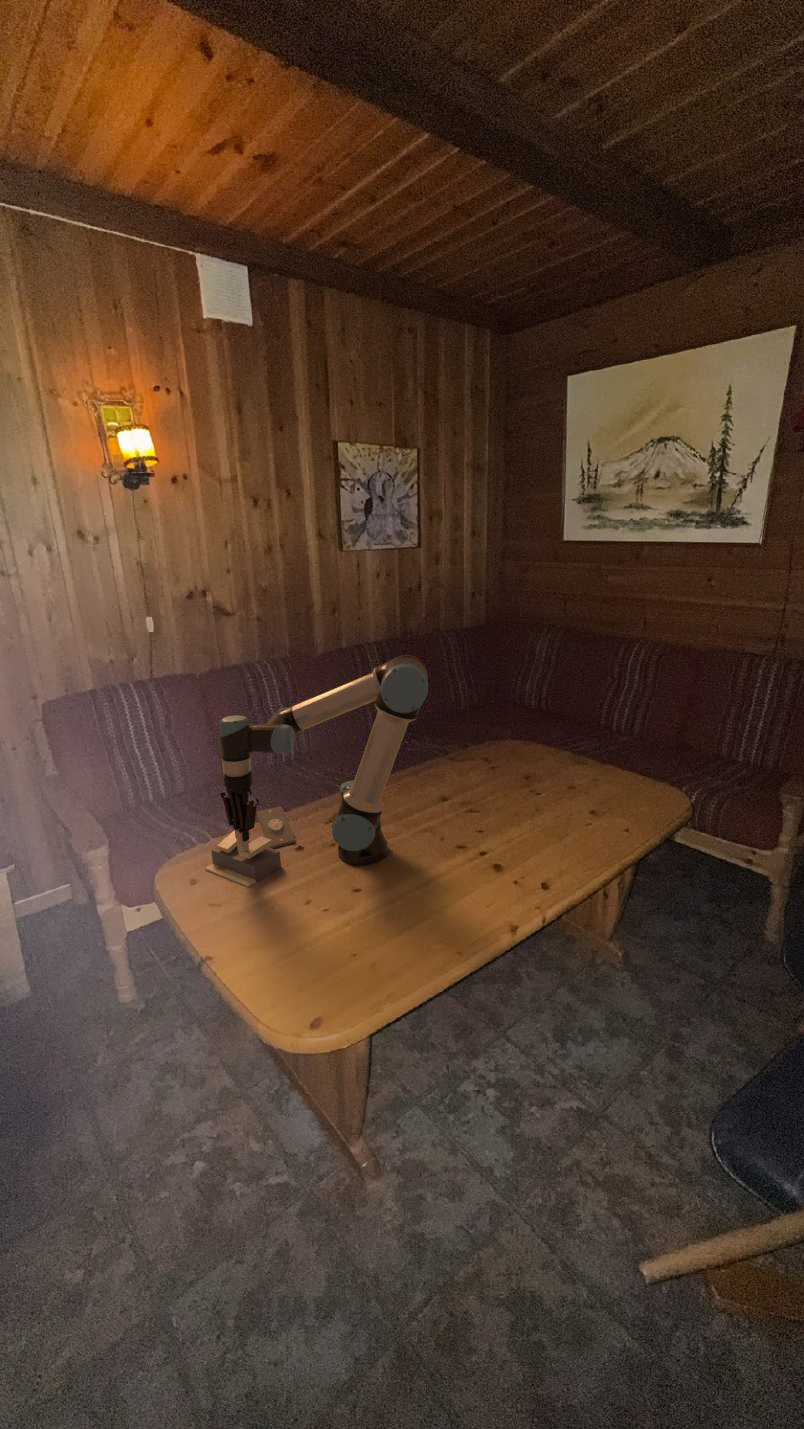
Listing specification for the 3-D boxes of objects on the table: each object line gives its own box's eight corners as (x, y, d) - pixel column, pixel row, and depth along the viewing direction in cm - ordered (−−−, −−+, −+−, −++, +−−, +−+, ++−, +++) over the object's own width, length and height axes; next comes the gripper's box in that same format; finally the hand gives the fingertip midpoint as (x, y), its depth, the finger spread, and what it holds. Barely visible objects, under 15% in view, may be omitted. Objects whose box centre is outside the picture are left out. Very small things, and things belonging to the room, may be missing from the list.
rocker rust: (250, 834, 187) (248, 829, 187) (229, 853, 181) (227, 849, 180) (240, 830, 190) (238, 826, 189) (218, 849, 184) (217, 845, 183)
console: (281, 866, 184) (279, 847, 182) (248, 887, 174) (246, 867, 172) (238, 851, 194) (236, 832, 192) (205, 869, 183) (202, 850, 181)
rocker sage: (272, 844, 183) (271, 839, 182) (249, 858, 176) (248, 853, 175) (261, 841, 185) (261, 836, 185) (238, 854, 178) (238, 849, 178)
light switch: (269, 845, 193) (256, 809, 202) (268, 856, 197) (255, 821, 206) (296, 838, 197) (281, 804, 206) (294, 849, 201) (280, 815, 210)
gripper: (264, 772, 170) (269, 850, 176) (231, 763, 177) (237, 839, 183) (244, 781, 164) (250, 861, 170) (210, 771, 171) (217, 849, 177)
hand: (243, 849), depth 177 cm, fingers closed
